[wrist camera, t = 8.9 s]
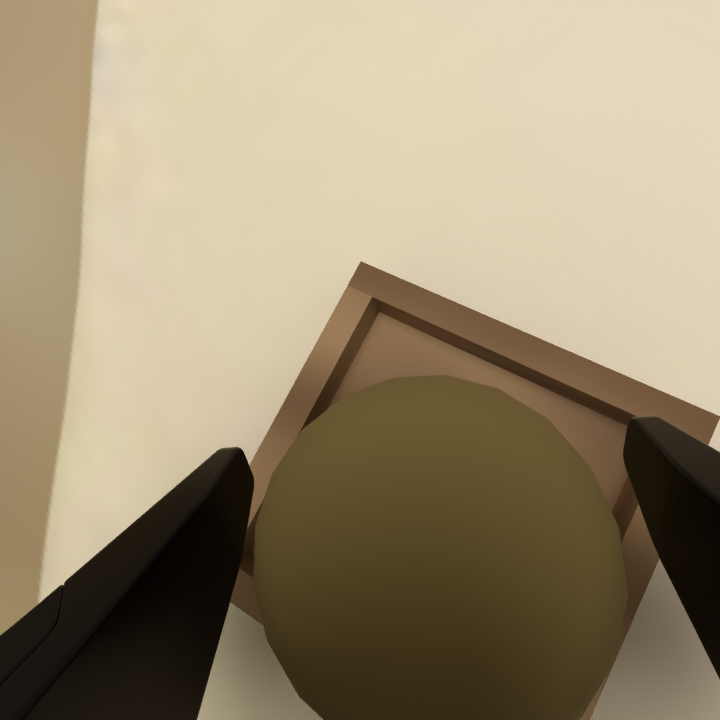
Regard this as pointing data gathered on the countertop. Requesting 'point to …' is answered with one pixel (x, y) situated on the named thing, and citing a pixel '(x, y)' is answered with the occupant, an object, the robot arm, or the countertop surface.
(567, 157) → the countertop surface
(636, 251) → the countertop surface
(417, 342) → the walnut tray
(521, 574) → the cork
